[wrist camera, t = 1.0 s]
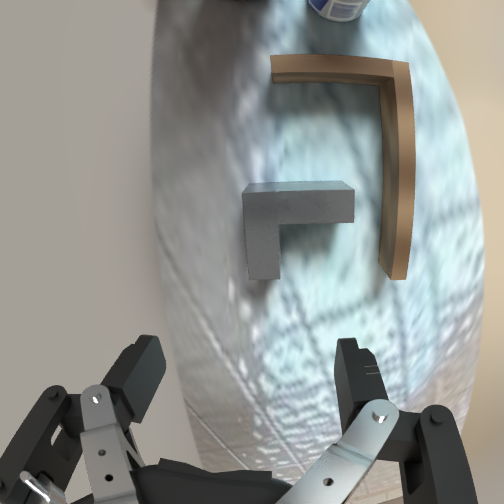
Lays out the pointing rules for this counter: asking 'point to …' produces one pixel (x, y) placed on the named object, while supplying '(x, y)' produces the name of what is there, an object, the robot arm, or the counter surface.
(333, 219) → the bracket
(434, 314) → the counter surface
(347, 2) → the energy drink
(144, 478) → the robot arm
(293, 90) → the counter surface
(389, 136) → the brown angled frame
